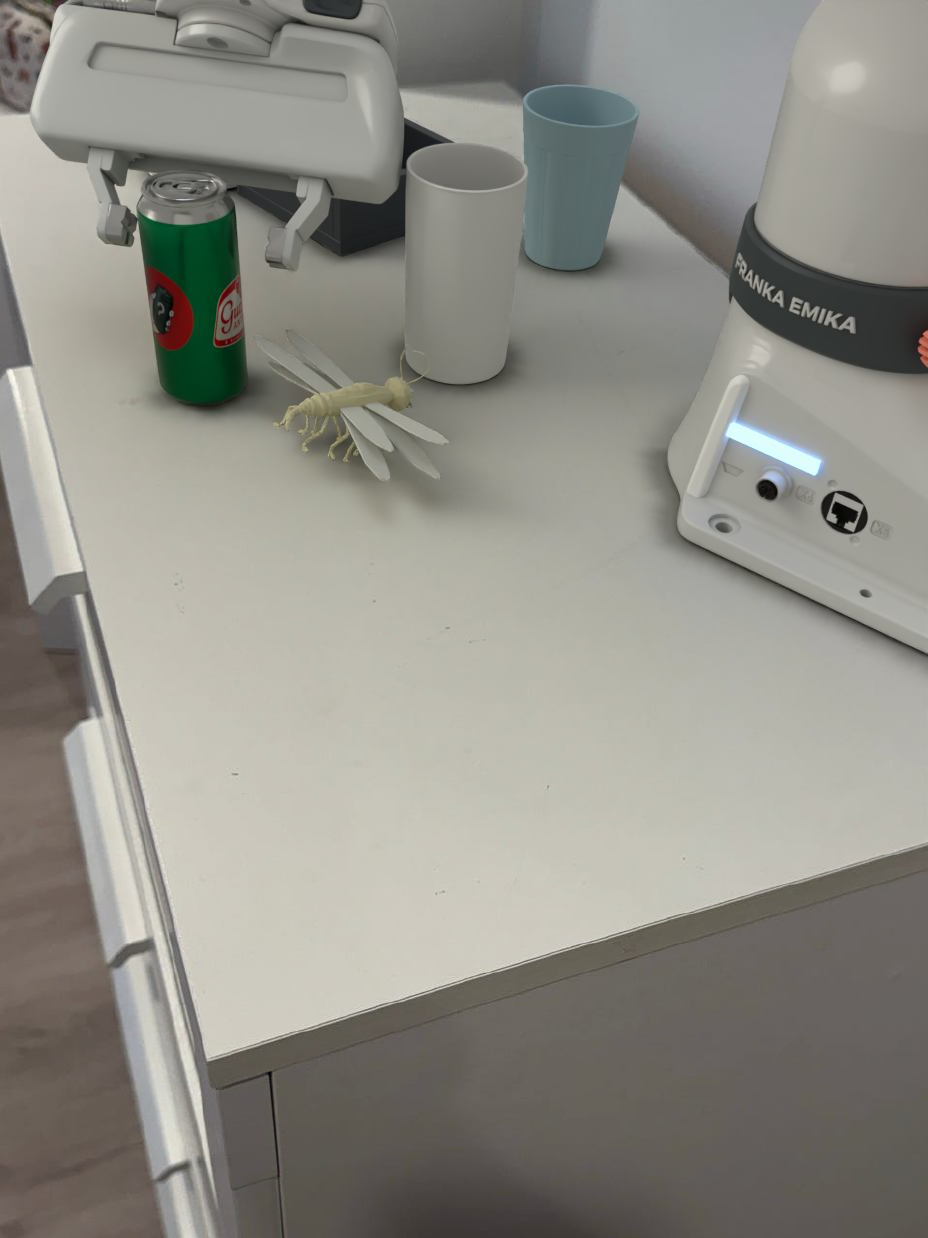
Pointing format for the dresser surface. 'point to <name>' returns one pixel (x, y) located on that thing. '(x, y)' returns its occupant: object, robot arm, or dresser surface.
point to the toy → (353, 407)
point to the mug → (461, 258)
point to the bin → (353, 205)
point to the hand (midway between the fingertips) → (196, 254)
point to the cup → (573, 170)
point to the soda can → (193, 285)
